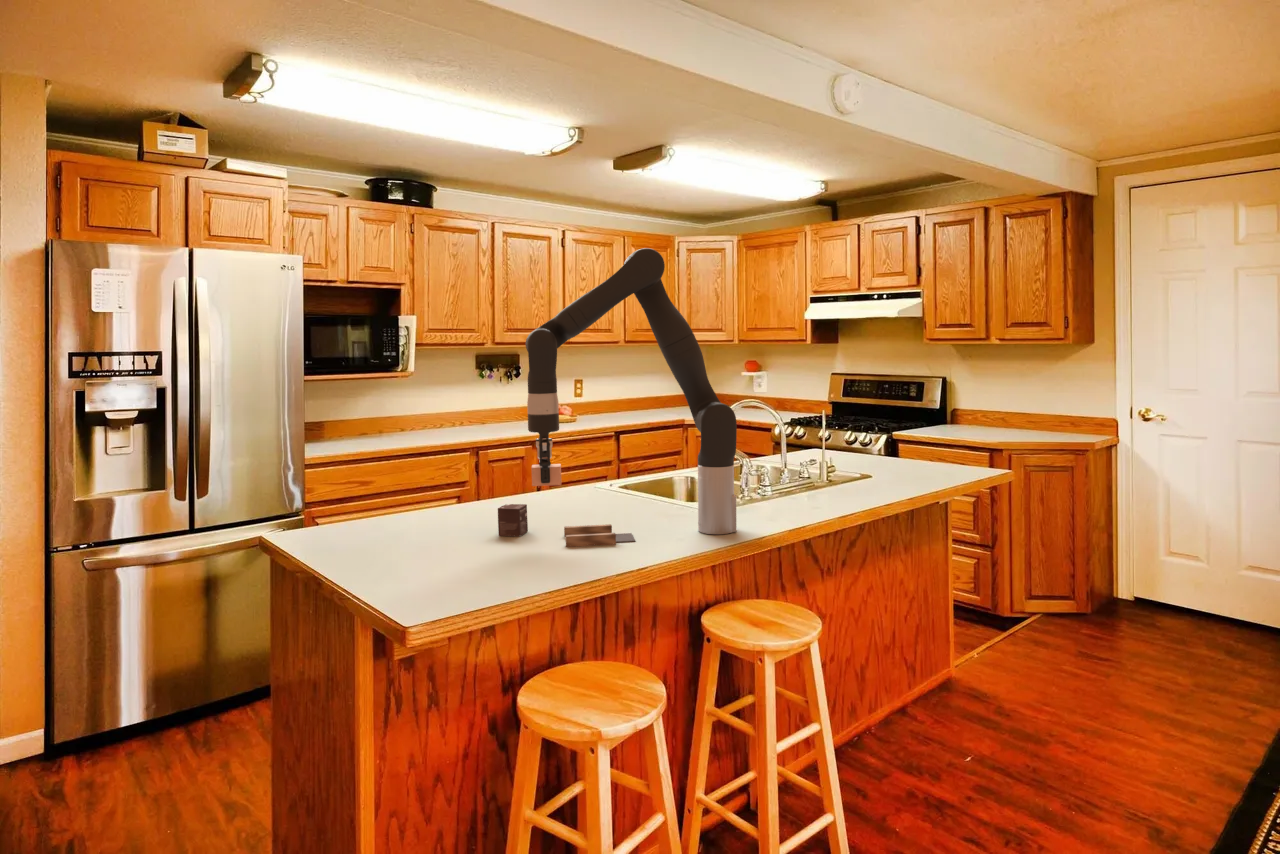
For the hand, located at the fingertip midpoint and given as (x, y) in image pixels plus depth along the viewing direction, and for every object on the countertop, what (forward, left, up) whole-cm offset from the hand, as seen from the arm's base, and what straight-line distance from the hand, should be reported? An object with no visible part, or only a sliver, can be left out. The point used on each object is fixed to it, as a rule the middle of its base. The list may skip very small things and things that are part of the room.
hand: (545, 480), depth 185 cm
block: (0, 0, -1) cm, 1 cm away
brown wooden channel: (-10, 0, -15) cm, 18 cm away
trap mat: (-19, 0, -15) cm, 24 cm away
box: (+9, -11, -16) cm, 21 cm away
